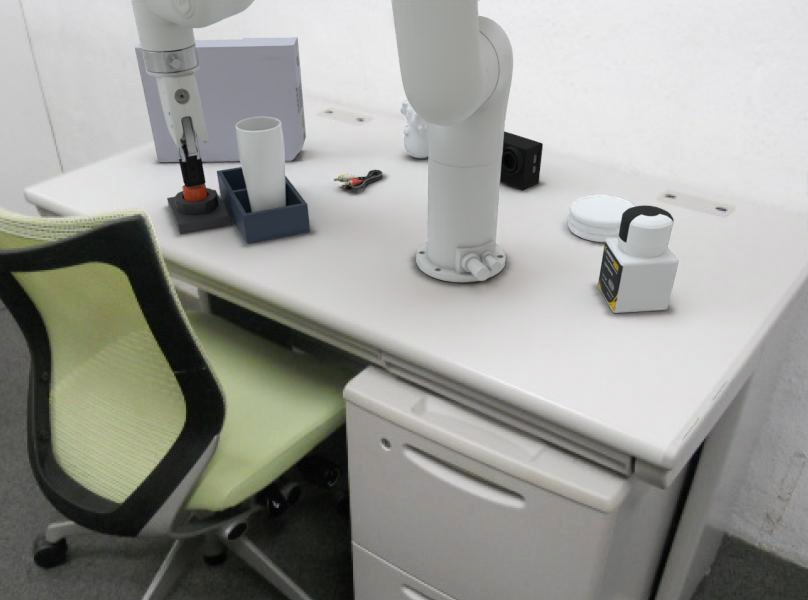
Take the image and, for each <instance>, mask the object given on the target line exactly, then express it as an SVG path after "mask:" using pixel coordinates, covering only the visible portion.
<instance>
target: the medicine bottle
mask: <svg viewBox="0 0 808 600" xmlns="http://www.w3.org/2000/svg"><path fill="white" fill-rule="evenodd" d="M674 220H675V219H674V217H673V215H672V214H671V213H670V212H669V211H668V210H665V209H663V208H661V207H658V206H654V205H646V204H645V205H644V204H643V205H635V207H631V208H629V209H627V210H626V211H625V212H624V213H623V214H622V219H621V224H620V230H619V235H618V238H607V239H606V240H605V242H604V246H603V252H602V258H601V262H600V263H601V264H600V269H599V275H598V282H597V287H598V289H599V290H600V292H601V294H602V296H603V297H604V299H605V301H606V303H607V304H608V306H609V307H610V310H611V311H612V312H613V313H614V314H620V313H623V314H624V313H639V312H655V311H667V310H668V308H669V305H670V300H671V297H672V292H673V288H674V283H675V281H676V275H677V271H678V268H679V259H678V258H677V257H676V256H675V254H674V253H673V252H672V250H671V249H670V248H669V244H670V239H671V234H672V229H673V225H674Z"/></svg>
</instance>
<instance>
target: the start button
mask: <svg viewBox="0 0 808 600" xmlns="http://www.w3.org/2000/svg"><path fill="white" fill-rule="evenodd" d="M206 185H207V184H206V183H205V184H203V185H197V186H192V187H186V186H185V184H183V185H182V187H181V189H182V191H183V194H184V199H185V200H187V201H199V200H203V199H205V198H207V191H206V188H207V186H206Z"/></svg>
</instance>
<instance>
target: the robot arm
mask: <svg viewBox="0 0 808 600" xmlns="http://www.w3.org/2000/svg"><path fill="white" fill-rule="evenodd" d="M479 1H480V0H391V8H392V10H391V11H392V17H393V24H394V25H393V26H394V32H395V33H394V34H395V40H396V41H395V42H396V47H397V48H396V50H397V55H398V56H397V57H398V64H399V70H400V71H399V72H400V77H401V82H402V87H403V92H404V94H405V97H406V100H408V102H409V103H410V105H411V107H412V108H413V110H414V111H415V112H416V113H417V114H418V115H419V116H420V117H421V118H422V119H423V120H425V121H427V122H429V123H430V129H429V153H428V157H427V160H428V161H427V162H428V163H427V237H426V238H427V239H426V240H427V241H425V242H424V243H423V244H421V246H420V247H419V248H418V249H417V251H416V254H415V258H416V259H415V262H416V265H417V267H418V268H419V270H420V271H421V272H422V273H424V274H425V275H427V276H429V277H431V278H434V279H436V280H441V281H445V282H450V283H473V282H484V281H486V280H488V279H491V278H493V277H495V276H496V275H498V274H499V273H501V272H502V271H503V269H504V268H505V266H506V260H507V256H506V255H507V254H506V252H505V250H504V248H502V246H501V245H499V244H497V243H496V242H497V230H498V216H499V215H498V214H499V204H500V203H499V201H500V188H501V182H500V175H501V161H502V152H503V139H504V131H505V127H506V119H507V110H508V104H509V98H510V94H511V93H510V92H511V87H512V80H513V71H514V54H513V52H514V51H513V47H512V43H511V40H510V38H509V36H508V34H507V33H506V31H505V30H504V28H503V27H502V26H501V24H499V23H497V22H496V21H495V20H493V19H492V18H489V17H486V16H483V15H479V3H478V2H479ZM130 2H131V6H132V11H133V17H134V19H135V26H136V30H137V35H138V39H139V44H141V49H142V54H143V59H144V63H145V68H146V73H147V74H148V75H150V76H154V77H156V80H157V85H158V90H159V95H160V100H161V104H162V108H163V112H164V116H165V120H166V123H167V127H168V130H169V132H170V134H171V136H172V138H173V140H174V142H175V144H176V145H177V147H178V152H179V156H180V158H181V159H179V162H178V163H179V167H180V171H181V175H182V176H181V177H182V182H183V185H185V186H186V187H192V186H197V185H203V184H205V185H206V176H205V171H204V170H205V169H204V165H203V162H202V159H201V158H200V152H199V146H198V140H197V135H198V137H199V138H200V140H201V142H204V143H207V142H208V141H209V138H208V133H207V128H206V124H205V119H204V114H203V109H202V104H201V99H200V95H199V90H198V86H197V82H196V78H195V75H194V72H196V71H197V70H199V68H200V66H199V61H198V55H197V49H196V44H195V40H196V38H195V32H194V29H203V28H206V27H209V26H212V25H214V24H217V23H219V22H222V21H223V20H226V19H228V18H231V17H233V16H235V15H238V14H240V13H243V12H244V11H246V10H247V9H248V8H249V7H250V6H251V5H252V4H253V3H254V2H255V0H130Z"/></svg>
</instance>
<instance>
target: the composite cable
mask: <svg viewBox="0 0 808 600" xmlns="http://www.w3.org/2000/svg"><path fill="white" fill-rule="evenodd" d="M382 178H383V171H382V170H380V169H372V170H369V171H368V172H367V174H366V175H365V176H358V175H354V174H340V175H338V176H337V177H336V178H333V181H334V182H340V183H344V184H342V185H341V186H342V190H343V189H347V190H348V189H350V190H351V192H352V193H358V192H361V190H363V189H364V188H365V187H366V185H368V184H369V183H372V182H375V181H378V180H380V179H382Z"/></svg>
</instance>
